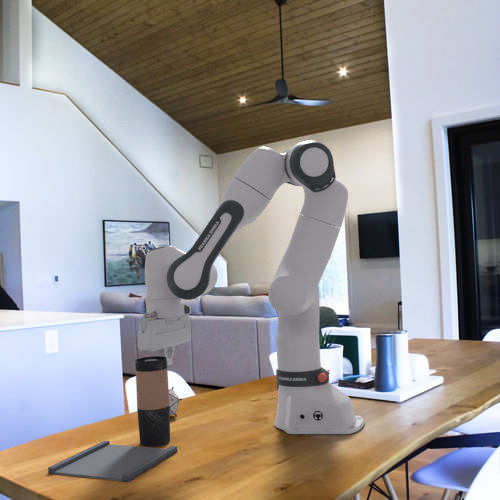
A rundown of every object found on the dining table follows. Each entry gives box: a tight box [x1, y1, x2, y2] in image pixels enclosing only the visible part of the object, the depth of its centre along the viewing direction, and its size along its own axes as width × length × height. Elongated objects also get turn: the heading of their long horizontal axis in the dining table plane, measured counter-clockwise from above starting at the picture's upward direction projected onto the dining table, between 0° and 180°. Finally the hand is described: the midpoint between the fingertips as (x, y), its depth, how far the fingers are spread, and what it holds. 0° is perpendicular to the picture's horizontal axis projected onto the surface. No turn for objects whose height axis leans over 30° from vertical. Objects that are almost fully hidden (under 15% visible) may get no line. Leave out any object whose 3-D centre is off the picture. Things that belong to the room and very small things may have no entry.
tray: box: [47, 440, 178, 483], centre depth 126 cm, size 20×19×1 cm
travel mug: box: [134, 355, 171, 448], centre depth 139 cm, size 8×8×20 cm
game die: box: [168, 386, 183, 417], centre depth 163 cm, size 9×8×10 cm
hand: (166, 365), depth 146 cm, fingers closed
